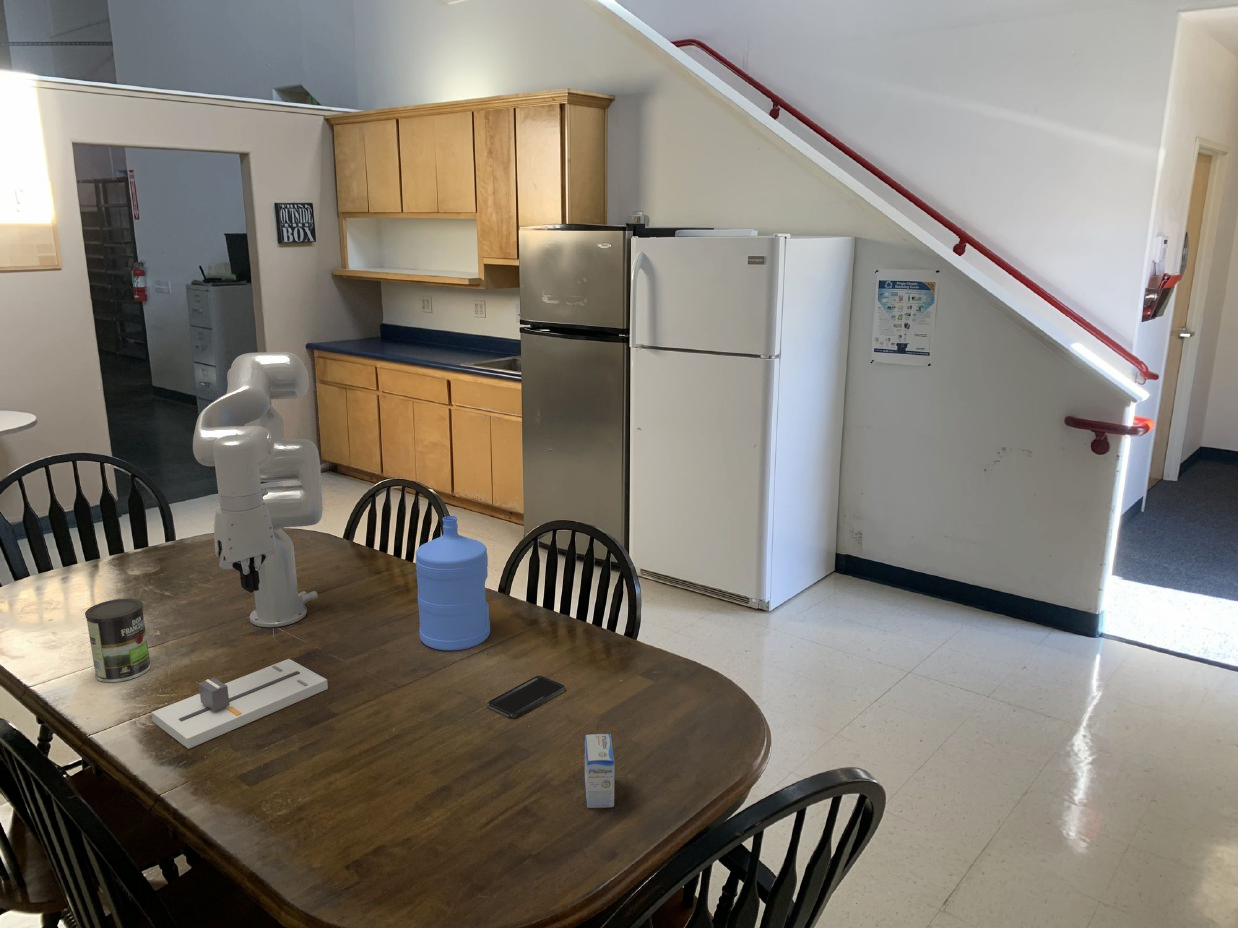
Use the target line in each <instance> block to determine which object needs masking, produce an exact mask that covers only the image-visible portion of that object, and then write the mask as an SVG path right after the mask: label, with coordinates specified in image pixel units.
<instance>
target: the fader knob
mask: <svg viewBox="0 0 1238 928" xmlns="http://www.w3.org/2000/svg"><path fill="white" fill-rule="evenodd" d="M198 690H199V694H200V699H201V703H202V704H204V705H205V706H207V707H208V708H210V709H211V710H213V711H216V710H219V709H221V708H224V707H226V706H229V705H230V704H229V696H228V688H227V685H225V683H223V682H222V681H221V680H219V679H217V678H216V677H212V678H210V679H209V678H207V679H206V680H203V681H201V682H199V683H198Z"/></svg>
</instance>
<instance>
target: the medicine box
mask: <svg viewBox="0 0 1238 928" xmlns="http://www.w3.org/2000/svg"><path fill="white" fill-rule="evenodd" d="M615 769H616V768H615V758H614V751H613V742H612V735H611V733H610V734H609V733H596V734H586V735H585V736H584V786H585V787H584V788H585V796H586V797H585V798H586V801H585V802H586V807H587V809H605V808H607V809H608V808H614V807H615Z"/></svg>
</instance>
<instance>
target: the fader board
mask: <svg viewBox="0 0 1238 928" xmlns="http://www.w3.org/2000/svg"><path fill="white" fill-rule="evenodd" d="M224 684H225V685H227V688H228V696H229V704H230V705H229V706H226V707H224V708H221V709H219V710H216V711H213V710H211V709H210V708H208V707H207V706H205V705H204V704H202V703H201V699H200V693H197V694H195V695H193V696H190V697H187V698H184V699H182V700H179V701H177V702H174V703H171V704H169V705H167V706H164V707H162V708H159V709H156V710H153V711H151V717H152V718H151V719H152V723H154V724H155V725H156V726H157V727H159V728H161V730H163V731H164V732H166V733H167V734H168V735H170V737H172V738H174V739H175V740H176V741H178V742H179V743H180V744H181V745H182V746H184V747H185V748H187V749H188V750H189V749H191V748H194V747H196V746H199V745H201V744H203V743H205V742H208V741H210V740H213V739H215V738H217V737H220V736H222V735H224V734H226V733H229V732H231V731H233V730H235V729H238V728H240V727H242V726H245V725H247V724H249V723H252V722H254V721H256V720H259V719H261V718H264V717H265V716H268V715H270V714H273V713H275V712H277V711H280V710H282V709H284V708H287V707H289V706H292V705H293V704H295V703H296V704H297V703H298V702H301V701H304V700H305V699H308V698H310V697H312V696H315V695H317V694H319V693H322V692H324V691H326V690H328V689H329V688H328V687H329V684H328V679H327V678H325V677H323V676H321V675H319V674H318V673H316V672H314V671H312V670H311V669H308V668H307V667H305V666H303V665H301V664H300V663H297V662H296V661H295V660H292V659H290V658H287V659H285V660H282V661H280V662H277V663H274V664H272V665H270V666H267V667H264V668H262V669H259V670H257V671H253V672H251V673H249V674H246V675H243V676H241V677H239V678H236V679H234V680H230V681H228V682H226V683H224Z"/></svg>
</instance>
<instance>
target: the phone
mask: <svg viewBox="0 0 1238 928" xmlns="http://www.w3.org/2000/svg"><path fill="white" fill-rule="evenodd" d="M565 691H566V687H565V685H564V684H562V683H561V682H557V681H555V680H553V679H551V678H548V677H546V676H543V675H536V676H534V677H531V678H530V679H528V680H526V681H525V682H523V683H521V684H519V685H517V686H515V687H513V688H512V689H509V690H508V691H506V692H503V693H502V694H500V695H498V696H496V697H494V698H493V699H492V698H491V700H489V701H488V702H487V703H486V704H487V705H486V707H487V709H488V710H490V711H492V712H494V713H497V714H498V715H500V716H502V717H505V718H507V719H509V720H516V719H518V718H520V717H522V716H524V715H525V714H528V713H529V712H531V711H533V710H534V709H536V708H537V707H539V706H541V705H544V703H547V702H549V701H550V700H551V699H554V698H556V697H557V696H560V695H562V693H565Z"/></svg>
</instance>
